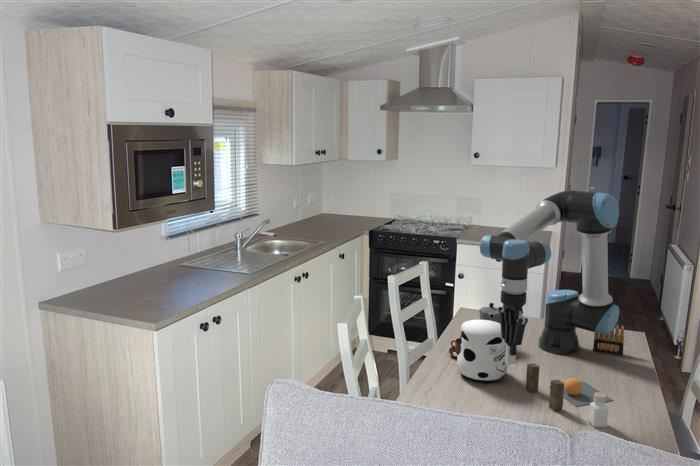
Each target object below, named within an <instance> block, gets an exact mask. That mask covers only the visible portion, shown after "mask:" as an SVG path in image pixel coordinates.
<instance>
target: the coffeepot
mask: <svg viewBox="0 0 700 466" xmlns="http://www.w3.org/2000/svg"><path fill="white" fill-rule="evenodd" d="M494 304H495V303H493V302H490V303H489V305H488V306H483V307H481V308H479V309H478V310H479V311H478V312H479V318H480V319H479V320H490V321H494V322H498V323H500V314H499V310H498V307H497V306H496V307H495V305H494Z"/></svg>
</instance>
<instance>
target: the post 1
mask: <svg viewBox="0 0 700 466" xmlns="http://www.w3.org/2000/svg"><path fill="white" fill-rule="evenodd" d="M525 378H526V379H525V390H526V391H527V392H528V393H530V394H533V393H539V383H540V382H539V381H540V379H539V378H540V365H538V364H536V363H534V362H533V363H532V362H531V363H528V364H526V377H525Z"/></svg>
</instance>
